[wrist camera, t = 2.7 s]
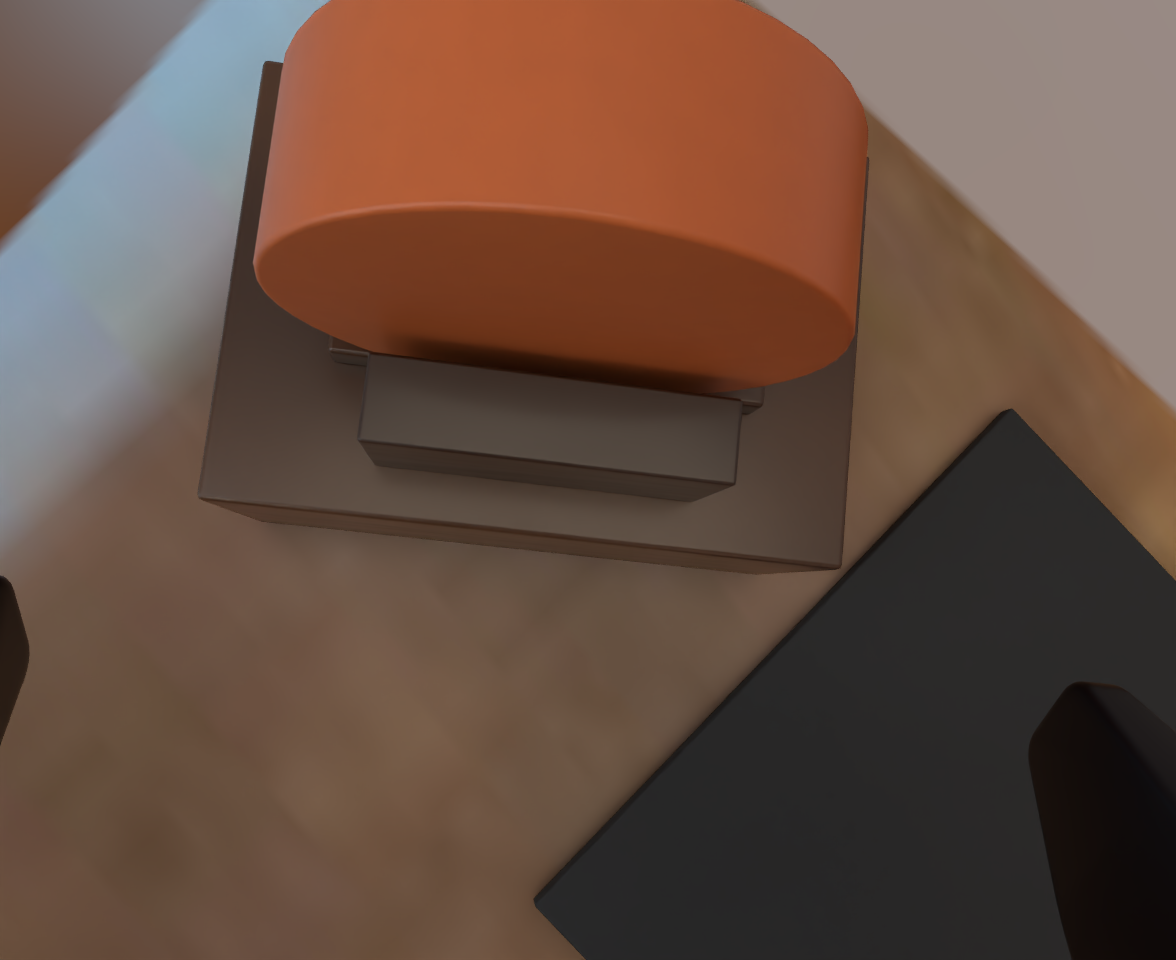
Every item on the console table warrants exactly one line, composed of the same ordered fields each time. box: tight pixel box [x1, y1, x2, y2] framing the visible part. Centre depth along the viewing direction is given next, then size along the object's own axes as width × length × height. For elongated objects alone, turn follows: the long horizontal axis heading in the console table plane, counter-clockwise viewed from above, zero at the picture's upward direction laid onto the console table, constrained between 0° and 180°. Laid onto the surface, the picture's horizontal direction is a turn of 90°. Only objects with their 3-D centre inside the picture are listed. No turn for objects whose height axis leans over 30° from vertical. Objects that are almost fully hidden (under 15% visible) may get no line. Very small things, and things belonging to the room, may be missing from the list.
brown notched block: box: [198, 61, 869, 575], centre depth 16 cm, size 7×10×7 cm
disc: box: [253, 0, 868, 394], centre depth 12 cm, size 2×7×7 cm, turn 84°
